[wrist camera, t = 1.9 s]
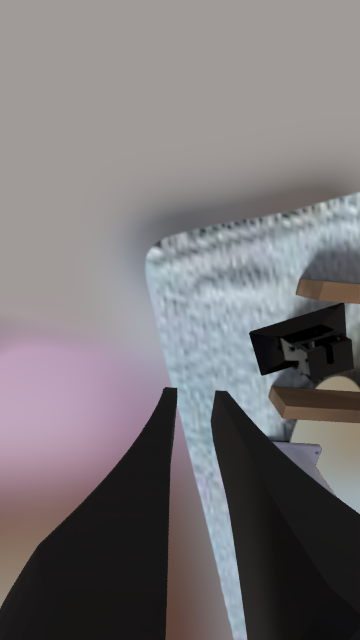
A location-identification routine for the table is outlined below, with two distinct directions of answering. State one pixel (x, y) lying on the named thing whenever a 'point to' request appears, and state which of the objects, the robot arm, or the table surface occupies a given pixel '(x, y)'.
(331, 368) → the black piece
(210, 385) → the table surface
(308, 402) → the walled channel
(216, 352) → the table surface
